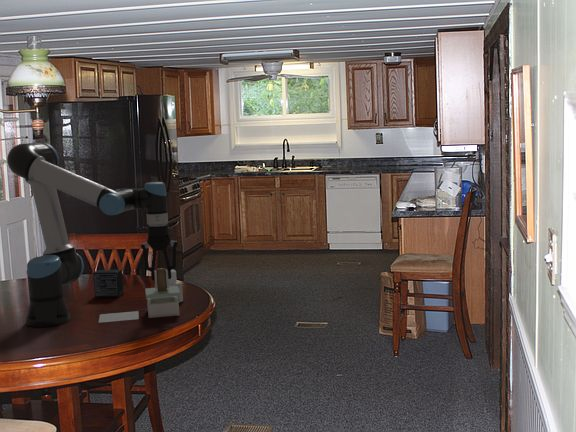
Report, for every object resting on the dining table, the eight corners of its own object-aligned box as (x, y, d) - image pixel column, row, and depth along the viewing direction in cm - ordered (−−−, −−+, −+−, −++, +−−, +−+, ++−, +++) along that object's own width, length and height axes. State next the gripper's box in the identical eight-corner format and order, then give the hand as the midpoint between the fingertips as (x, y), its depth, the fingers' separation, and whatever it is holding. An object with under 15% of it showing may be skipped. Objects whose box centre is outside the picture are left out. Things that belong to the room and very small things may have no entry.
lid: (146, 298, 277) (144, 273, 275) (145, 291, 288) (143, 267, 287) (180, 295, 279) (178, 270, 278) (178, 288, 291) (176, 264, 289)
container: (155, 304, 300) (153, 271, 298) (167, 299, 306) (165, 267, 305) (171, 305, 296) (169, 272, 294) (183, 301, 303) (181, 268, 301)
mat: (98, 323, 274) (98, 322, 274) (99, 315, 286) (99, 314, 286) (138, 319, 277) (138, 319, 277) (138, 311, 289) (138, 311, 289)
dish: (148, 318, 278) (147, 305, 278) (148, 311, 289) (147, 298, 288) (179, 315, 280) (178, 302, 280) (177, 308, 291) (176, 295, 290)
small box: (124, 293, 320) (122, 268, 319) (119, 297, 314) (117, 272, 313) (99, 294, 322) (97, 269, 320) (94, 298, 315) (92, 272, 314)
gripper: (134, 227, 275) (139, 292, 278) (181, 224, 278) (185, 288, 281) (134, 225, 283) (139, 288, 286) (180, 222, 286) (184, 284, 289)
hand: (162, 288), depth 283 cm, fingers closed on lid, 3 cm apart
